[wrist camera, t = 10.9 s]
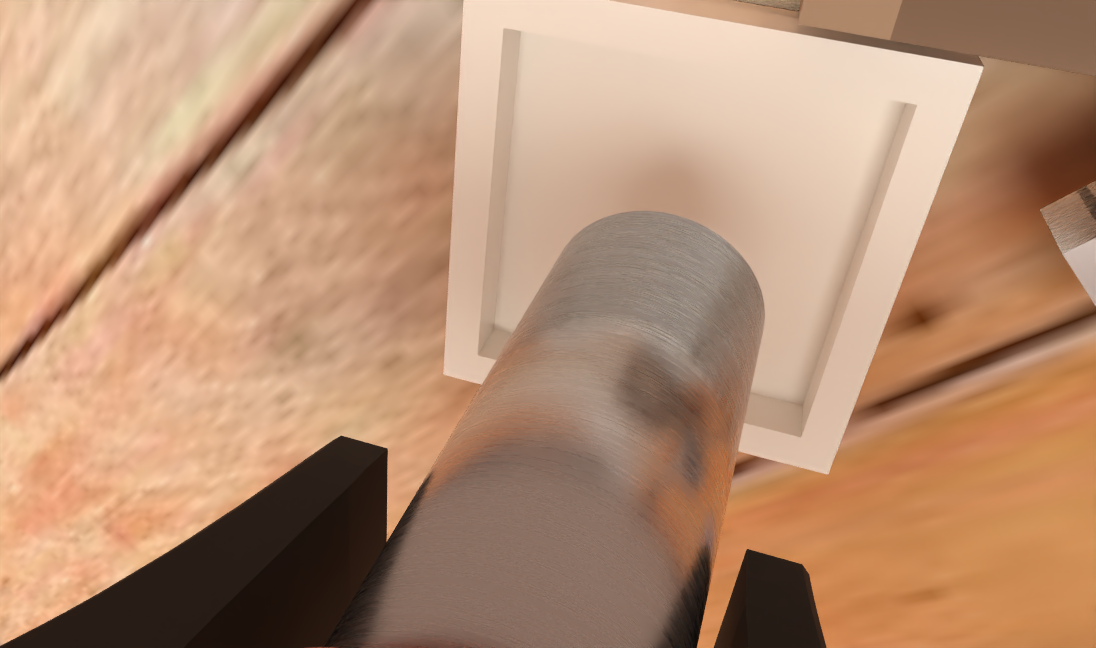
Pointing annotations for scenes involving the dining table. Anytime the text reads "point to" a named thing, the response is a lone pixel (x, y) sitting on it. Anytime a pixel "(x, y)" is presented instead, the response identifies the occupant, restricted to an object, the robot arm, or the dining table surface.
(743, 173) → the tray
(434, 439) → the dining table surface
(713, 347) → the steel pin
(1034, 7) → the socket block
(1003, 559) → the dining table surface
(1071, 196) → the bar
